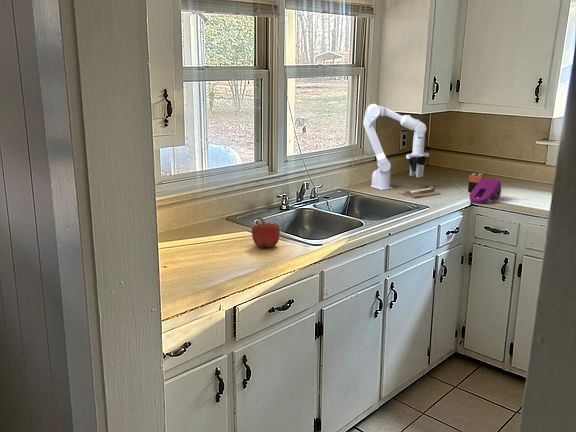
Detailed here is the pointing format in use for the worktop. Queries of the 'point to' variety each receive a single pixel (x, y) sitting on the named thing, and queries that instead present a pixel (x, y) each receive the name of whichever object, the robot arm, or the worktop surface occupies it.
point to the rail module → (417, 171)
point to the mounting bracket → (486, 191)
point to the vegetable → (265, 234)
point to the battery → (474, 181)
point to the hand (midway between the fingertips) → (416, 171)
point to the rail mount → (420, 192)
